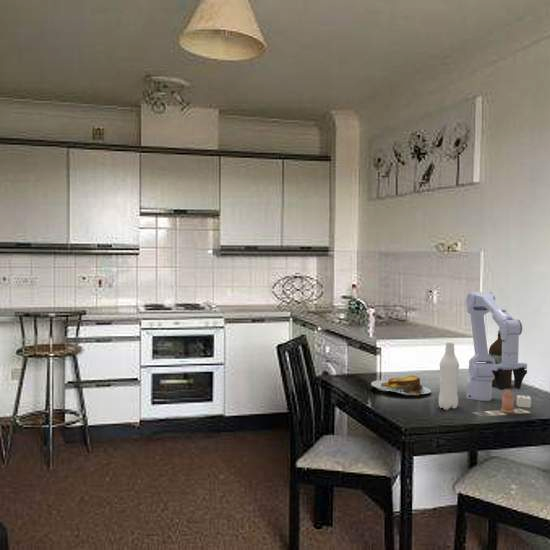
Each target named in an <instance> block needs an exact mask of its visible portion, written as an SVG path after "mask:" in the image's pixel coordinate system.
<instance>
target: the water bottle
mask: <svg viewBox="0 0 550 550" xmlns="http://www.w3.org/2000/svg"><path fill="white" fill-rule="evenodd" d="M444 350H445V352H444V355H443V356H442V358H441V359H440V362H439V377H438V380H439V394H438V406H439V407H440V409H441V408H443V410H445V411H448V410H449V409H451V408H452V409H456V408H457V407H458V405H459V397H458V385H459V380H460V378H459V372H460V371H459V369H460V363H459V360H458V358H457V356H456V354H455V343H453V342H445V349H444Z"/></svg>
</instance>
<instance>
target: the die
mask: <svg viewBox="0 0 550 550" xmlns="http://www.w3.org/2000/svg"><path fill="white" fill-rule="evenodd" d="M516 406H517V407H518V408H532V398H531V396H530V395H516Z"/></svg>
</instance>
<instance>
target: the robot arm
mask: <svg viewBox="0 0 550 550" xmlns="http://www.w3.org/2000/svg"><path fill="white" fill-rule="evenodd" d="M465 301H466V302H465V303H466V304H465V305H466V310H467V313H468V314H470V315H469V316H470V321H471V322H470V323H471V330H472V331H471V332H472V339H473V341H472V342H473V350H474V355H473V356H472V357H471V358H470V359H469V360H468V374H469V376H470V377H468V378H467V382H466V396H465V397H466V399H469V400H476V401H482V402H483V401H484V402H490V401H491V400H492V396H493V395H492V391H493V390H492V389H493V387H492V380H494V378H495V379H496V382H497V386H498V388H497V389H498V390H499V391H504V390H505V388H504V380H505V376H506V372H503V370H510V369H512V375H513V385H514V389H517V390H520V389H521V386H522V383H523V381H524V379H525V376H526V375H527V374H528V370H527V369H528V363H525V362H519V343H520V342H519V338H520V335H521V334H522V333H523V324H522V322H521V320H520V319H516V318H513V317H512V315H511V314H510V313H509V312H508V311H507V309H506V308H502V307H500V306H499V304H498V303H497V302H496V295H495V294H494V293H493V291H469V292H468V293H467V295H466V298H465ZM488 313H491V314H492V316H491V318H492V320H493V321H494V322H495V323H496V325H497V326H498V331H500V334H501V339H502V363H500V364H495V360H494V358H492V357H491V356H490V355H489V349H488V343H487V341H488V340H487V335H486V334H487V332H486V325H485V318H484V317H485V315H486V314H488Z"/></svg>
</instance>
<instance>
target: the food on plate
mask: <svg viewBox="0 0 550 550" xmlns="http://www.w3.org/2000/svg"><path fill="white" fill-rule="evenodd" d="M370 385H371V387H373V388H374V387H375V388H376V389H377V390H378V391H383V392H387V393H389V391H390V392H393V393H397V394H400V395H402V396H417V397H418V396H420V394H421V395H425V394H430V393H431V392H432V391H431V389H430V388H428V387H426V386H423V385H422V384H421V378H420V377H419V376H416V375H408V376H406V377H401V378H400V377H392V378H389V380H383V379H381V380H373V381H371V383H370ZM420 391H425V392H424V393H422V392H420ZM419 392H420V393H419ZM418 393H419V394H418Z"/></svg>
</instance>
